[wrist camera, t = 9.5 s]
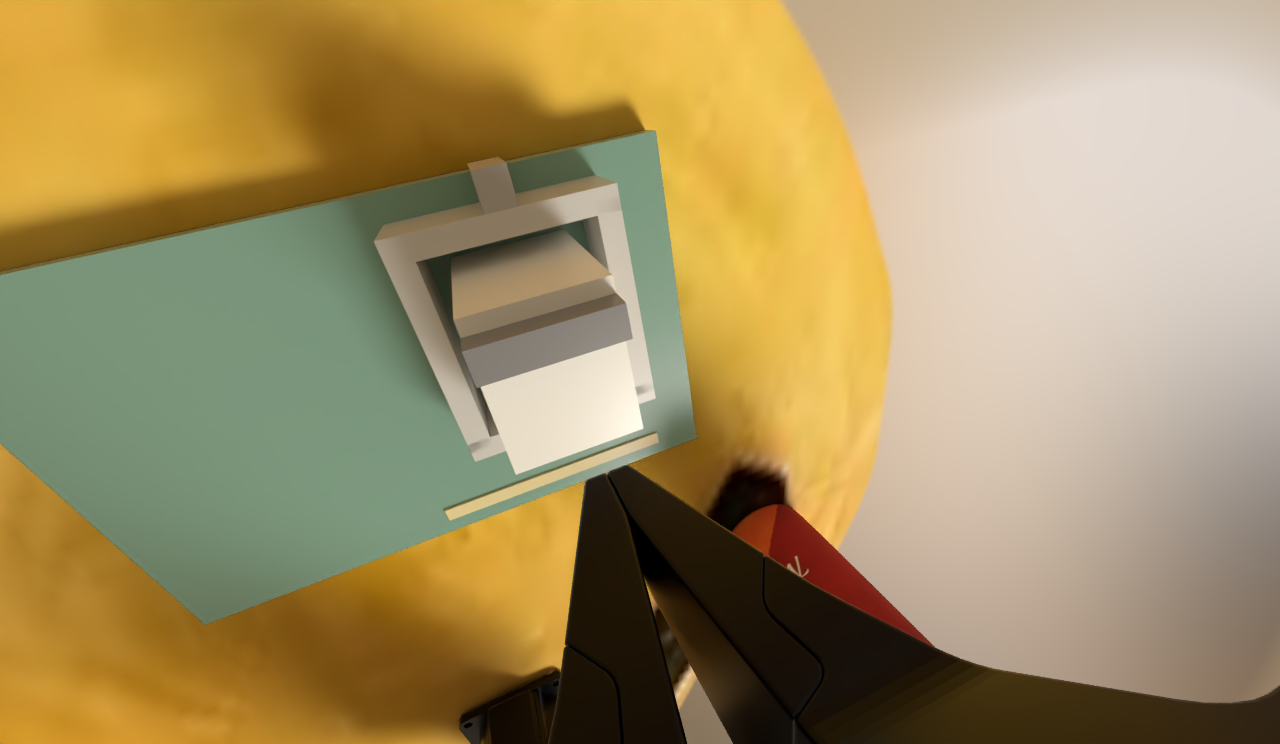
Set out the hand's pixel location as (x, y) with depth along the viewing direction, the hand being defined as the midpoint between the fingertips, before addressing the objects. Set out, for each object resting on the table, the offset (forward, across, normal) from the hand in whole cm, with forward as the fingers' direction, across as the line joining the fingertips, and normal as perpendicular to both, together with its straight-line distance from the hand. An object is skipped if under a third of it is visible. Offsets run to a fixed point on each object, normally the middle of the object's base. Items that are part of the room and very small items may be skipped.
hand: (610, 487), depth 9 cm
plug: (+11, 0, 0) cm, 11 cm away
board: (+12, +5, +2) cm, 13 cm away
